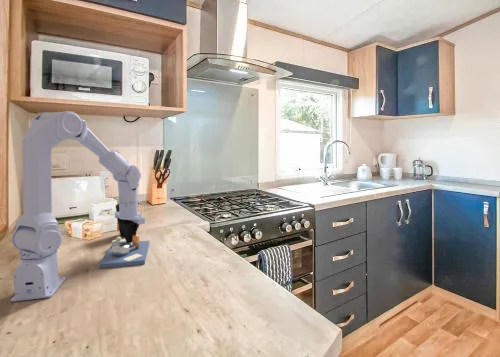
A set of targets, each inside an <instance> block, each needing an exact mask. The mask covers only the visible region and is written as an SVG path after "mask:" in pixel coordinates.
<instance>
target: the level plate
mask: <svg viewBox="0 0 500 357" xmlns="http://www.w3.org/2000/svg"><path fill="white" fill-rule="evenodd" d="M119 243H127V242H126V239H125V238H123V239H122V237H121V236H117V237H116V238H115V239H113V240H112V241H111V245H110V247H109V249H108V250H107V252H106V254H105V255H104V257H103V258H102V260H101V261H100V264H99V269H107V268H118V267H129V266H139V265H145V264H146V259H147V257H148V251H149V248H150V240H139V248H138V249H132V250H130V253H129V254H127V255H124V256H113V255H112V246H113V245H115V244H119ZM129 245H130V246H132V245H133V243H132V242H131V243H129Z"/></svg>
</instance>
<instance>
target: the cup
mask: <svg viewBox="0 0 500 357" xmlns="http://www.w3.org/2000/svg"><path fill="white" fill-rule="evenodd" d="M115 212H119V203H118V204H115ZM122 220H123V219H119V218H117V224H118V222H121V221H122ZM118 229H119V230H118V231H119V237H121V238H125V236H124V233H123V231H122V229H121V227H120V226H119V224H118Z"/></svg>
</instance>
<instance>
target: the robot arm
mask: <svg viewBox="0 0 500 357" xmlns="http://www.w3.org/2000/svg"><path fill="white" fill-rule="evenodd" d="M66 140H72V141H77V142H79V143H80V144H81V145H83V146H84V147H85V148H86V149H87V150H89V151H90V152H92V153H93V154H94V155H96V156H97V157H98V162H99V164H100V165H101V166H102V167H104V168H105V169H106V170H107V171H109V172H110V173H111V174H112V178H113V180H114V181H116V182H117V188H118V192H117V193H118V204H119V212H116V211H115V212H114V218H116V219H118V218H119V219H123V220H122V221H121V222H118V221H117V224H119V225H118V227H119V226H120V227H121V229H122V231H123V233H124V236H125V237H124V239H126V242H129V243H131V242H132V235H133V234H137V231H138V230H139V227H140V225H145V223H146V221H145V220H146V219H145V217H144V216H142V212H139V198H138V188H139V186H140V184H139V183H140V181H141V180H140V179H141V177H142V173H141V171H140V169H139V168H138V167H137V166H136V165H131V164H130V161H129V160H126V159H125V158H124V157H123V156H122V155H121V154H120V153H121V152H120V151H119V150H118V149H113V148H108V147H107V146H106V145H105V144H104V143H103V142H102V141H101V139H99V138H98V137H97V136H96V135H95V134H94V133H93V132H92V130H91V129H90V128H89V127H88V124H87V122H86V120H84V119H82V118H81V117H80V116H79V115H78V114H77V113H76V112H74V111H71V110H65V111H56V112H42V113H40V114H38V115H36V116H34V117H33V118H31V124H30V126H29V128H28V129H27V131H26V132H25V134H24V135H23V137H22V141H21V143H22V144H21V145H22V149H21V150H22V201H23V202H22V210H23V211H22V215H21V216H20V217H18V219H17V220H16V223H15V229H14V232H13V233H12V236H11V243H12V245H13V247H14V248H15V249H17V250H18V254H19V255H18V256H19V257H18V258H19V264H18V265H17V267H16V268H15V269H14V272H13V274H12V276H13V277H12V279H13V286H14V290H13V291H14V295H13V296H12V298H11V299H10V302H20V301H21V302H22V301H29V300H36V299H45V298H50V297H53V295H54V294H55V293H56V291H57V290H58V289H59V287H60V286H61V285H62V284H63V283H64V282H65V280H66V277H65V276H63V277H59V266H58V255H57V254H58V250H59V249H60V247H61V245H62V243H63V234H62V233H61V230H60V229H59V222H58V221H57V219H56V217H55V216H54V214H53V212H52V208H53V207H52V206H53V205H52V204H53V203H52V202H53V200H52V149H54V148H55V147H56V146H57V145H59V144H60V143H62V142H63V141H66Z"/></svg>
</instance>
